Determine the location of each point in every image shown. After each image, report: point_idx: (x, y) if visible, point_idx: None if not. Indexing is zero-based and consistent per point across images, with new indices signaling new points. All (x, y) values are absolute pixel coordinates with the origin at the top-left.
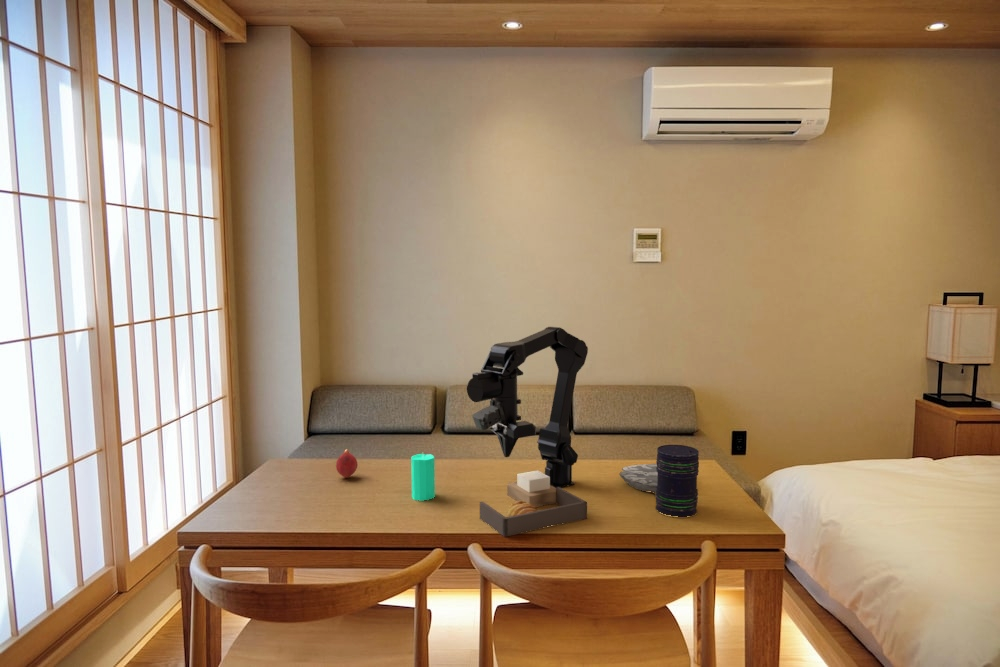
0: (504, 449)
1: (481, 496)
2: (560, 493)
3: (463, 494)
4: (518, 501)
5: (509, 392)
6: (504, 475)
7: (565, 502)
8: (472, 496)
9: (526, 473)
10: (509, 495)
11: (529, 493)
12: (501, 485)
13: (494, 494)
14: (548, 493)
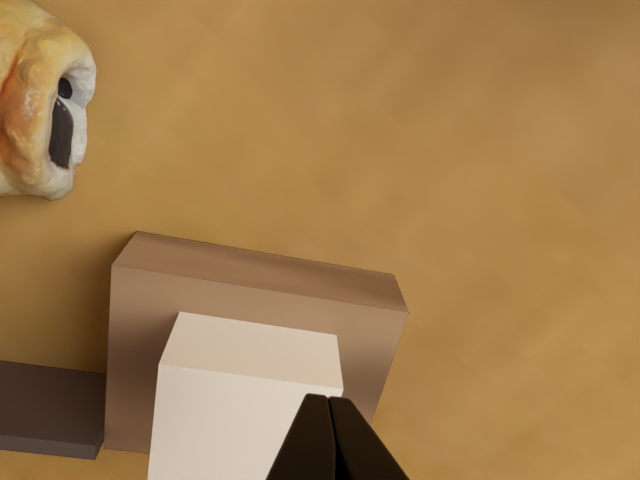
0: (303, 472)
1: (490, 143)
2: (52, 421)
3: (610, 73)
4: (20, 123)
5: None
6: (610, 429)
7: (14, 387)
8: (536, 96)
9: None
10: (370, 272)
11: (162, 300)
12: (524, 338)
13: (453, 225)
14: (108, 382)
